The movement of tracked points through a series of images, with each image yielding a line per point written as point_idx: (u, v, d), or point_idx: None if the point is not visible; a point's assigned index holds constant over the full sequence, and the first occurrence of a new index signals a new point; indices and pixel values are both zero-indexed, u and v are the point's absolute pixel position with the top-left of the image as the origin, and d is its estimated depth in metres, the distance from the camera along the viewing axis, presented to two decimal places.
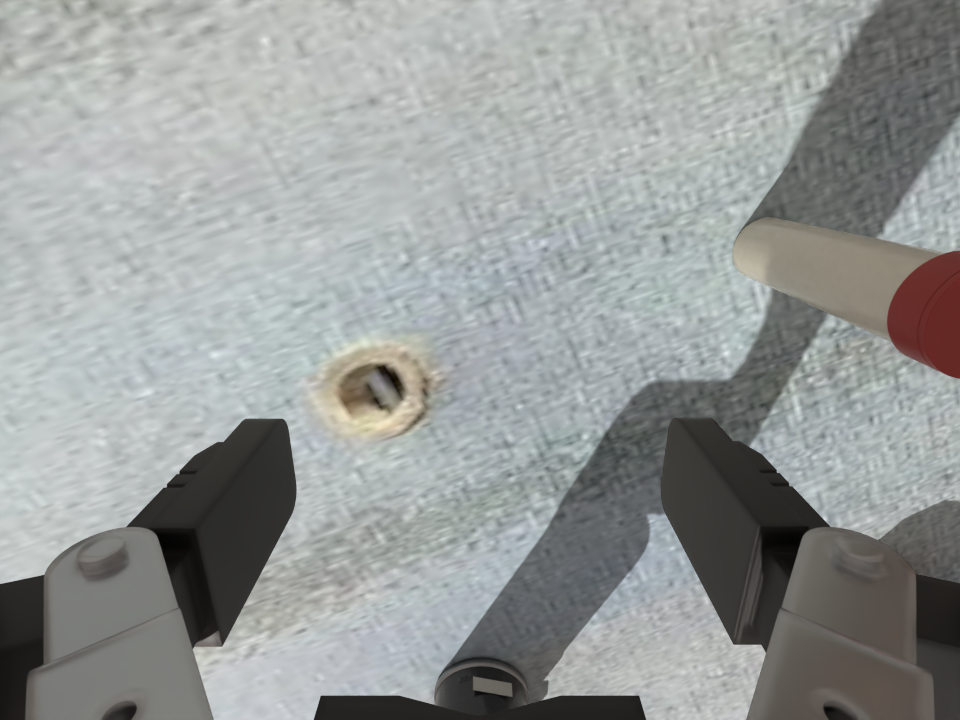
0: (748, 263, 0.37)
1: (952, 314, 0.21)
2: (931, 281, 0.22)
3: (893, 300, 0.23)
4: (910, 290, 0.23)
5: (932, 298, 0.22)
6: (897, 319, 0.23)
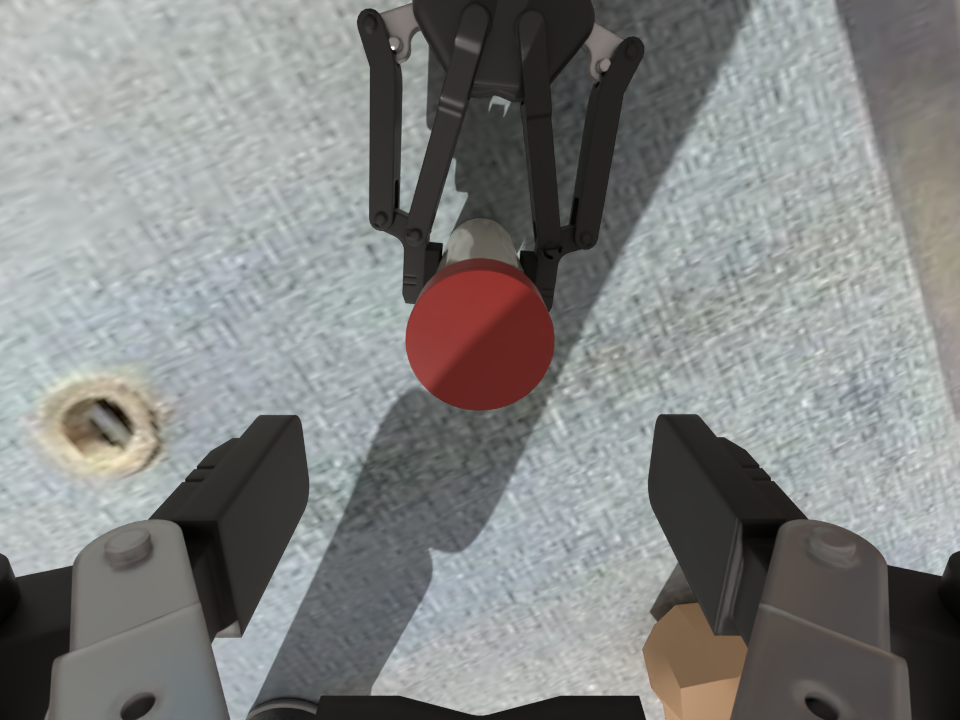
0: None
1: (432, 337, 0.18)
2: None
3: None
4: None
5: (409, 319, 0.18)
6: None
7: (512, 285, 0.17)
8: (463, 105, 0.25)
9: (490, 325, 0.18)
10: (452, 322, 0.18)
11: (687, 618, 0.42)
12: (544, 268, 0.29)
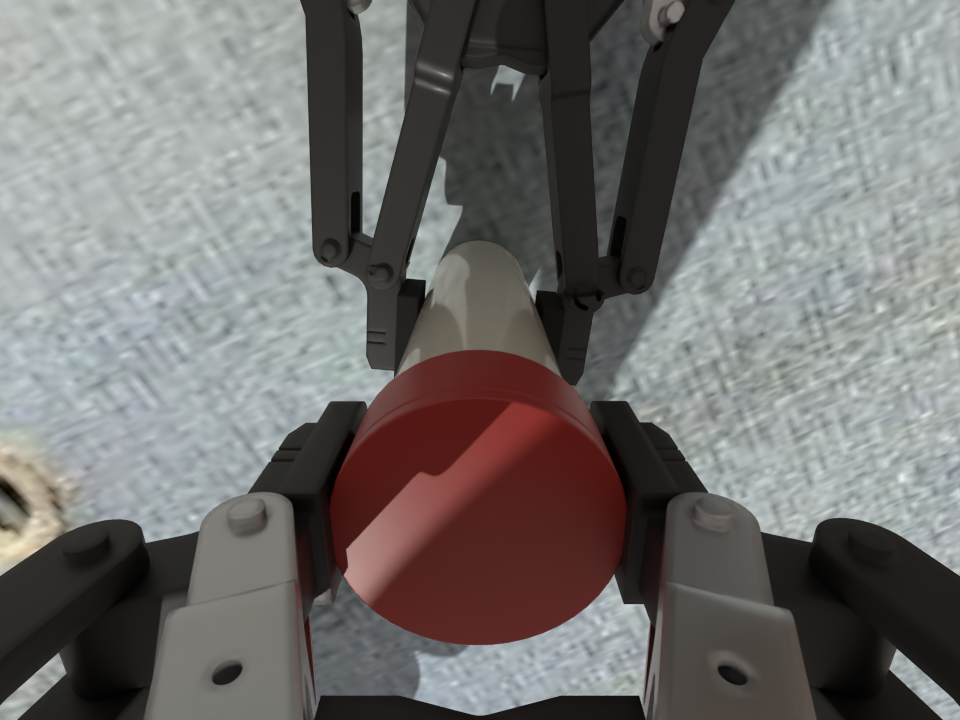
0: None
1: (382, 522, 0.09)
2: None
3: None
4: None
5: (335, 484, 0.09)
6: None
7: (546, 427, 0.08)
8: (452, 76, 0.16)
9: (499, 501, 0.09)
10: (421, 495, 0.09)
11: None
12: (573, 320, 0.20)
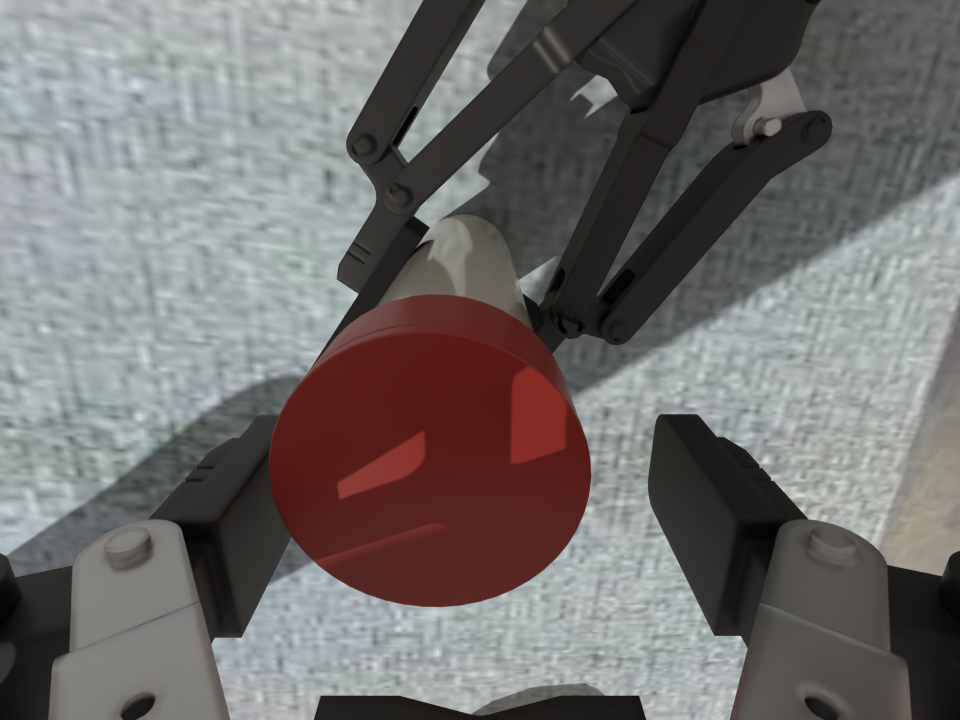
0: None
1: (368, 546, 0.09)
2: None
3: None
4: None
5: (320, 552, 0.09)
6: None
7: (348, 367, 0.08)
8: (570, 59, 0.16)
9: (405, 448, 0.08)
10: (360, 503, 0.09)
11: None
12: (543, 336, 0.20)
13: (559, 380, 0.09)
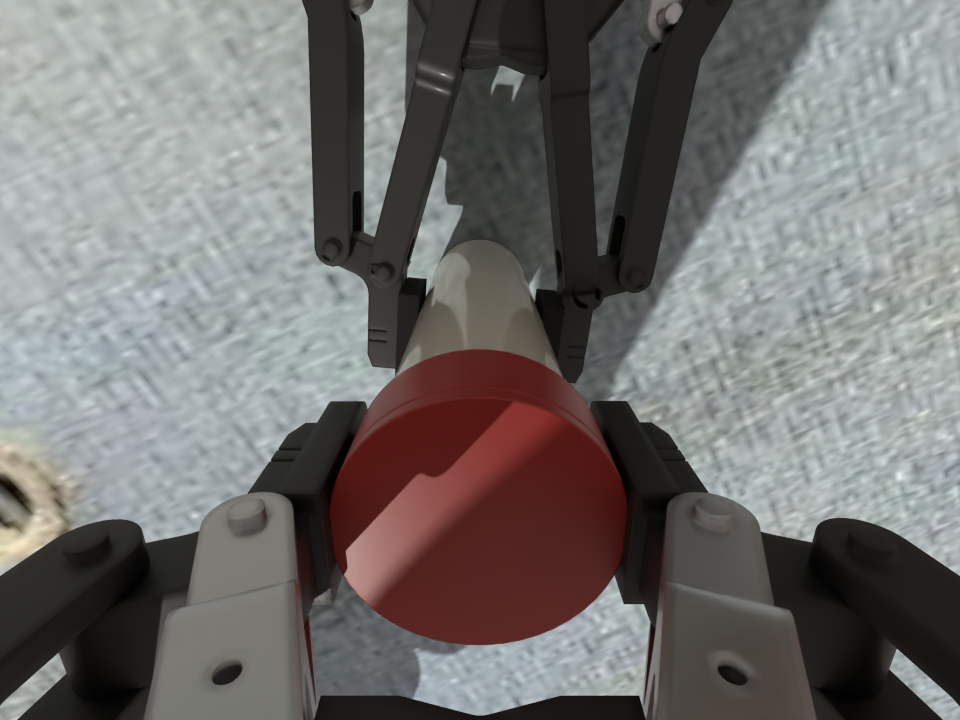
0: None
1: (462, 606, 0.10)
2: None
3: None
4: None
5: (430, 626, 0.10)
6: None
7: (355, 475, 0.09)
8: (453, 77, 0.16)
9: (440, 515, 0.09)
10: (432, 575, 0.09)
11: None
12: (572, 318, 0.20)
13: (540, 390, 0.09)
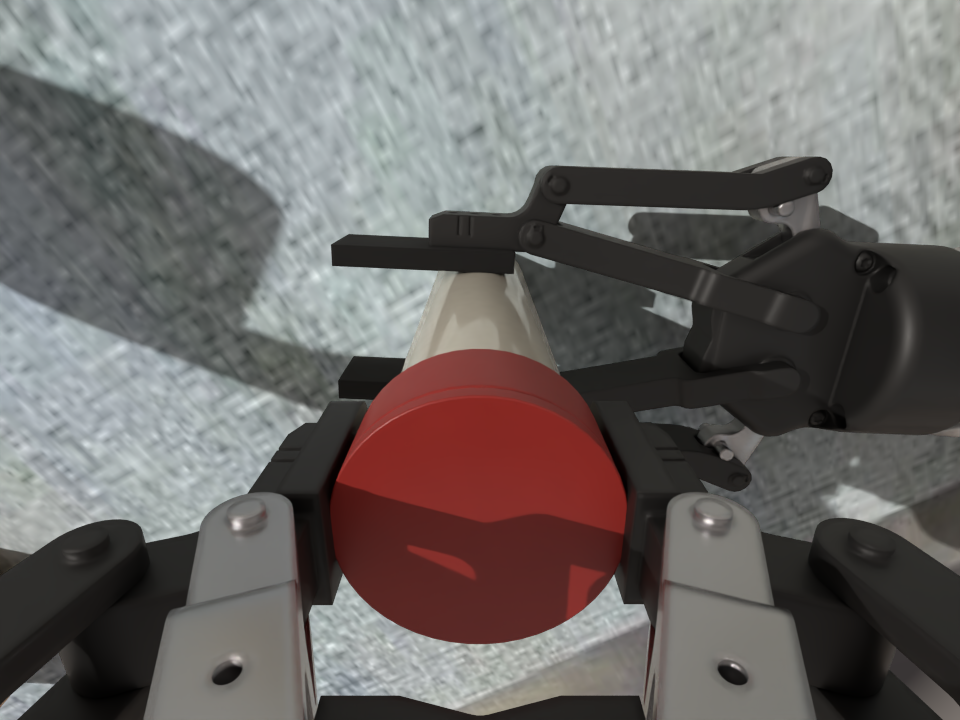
0: None
1: (462, 605, 0.10)
2: None
3: None
4: None
5: (430, 624, 0.10)
6: None
7: (356, 474, 0.09)
8: (705, 304, 0.19)
9: (440, 514, 0.09)
10: (432, 574, 0.09)
11: None
12: None
13: (540, 390, 0.09)
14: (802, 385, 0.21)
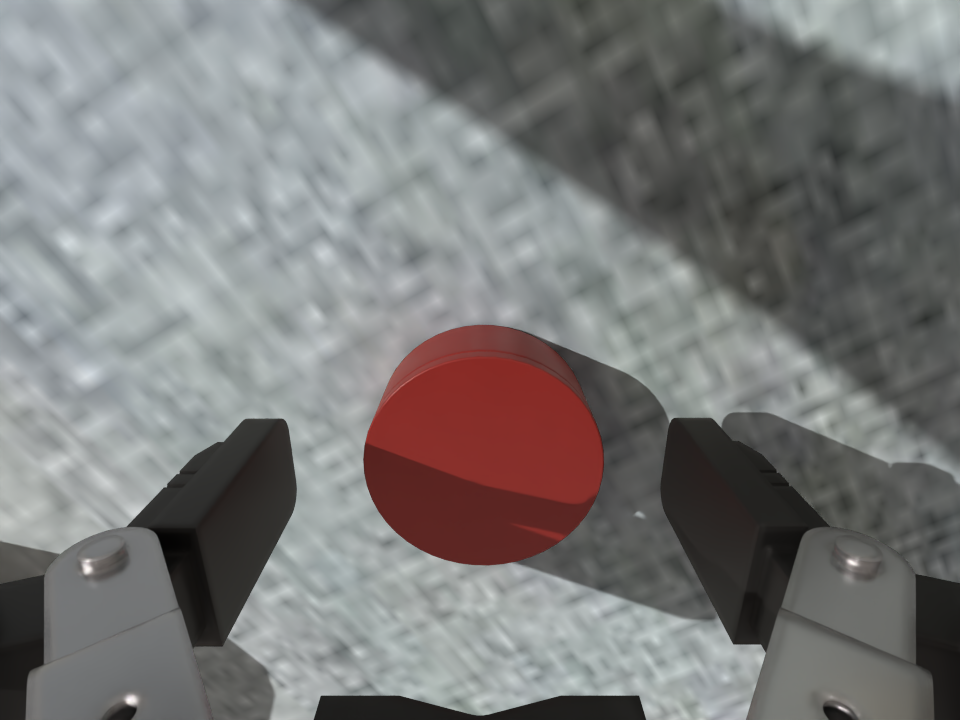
0: None
1: (469, 531, 0.12)
2: None
3: None
4: None
5: (443, 551, 0.12)
6: None
7: (386, 420, 0.11)
8: None
9: (453, 453, 0.11)
10: (446, 504, 0.12)
11: None
12: None
13: (533, 355, 0.11)
14: None
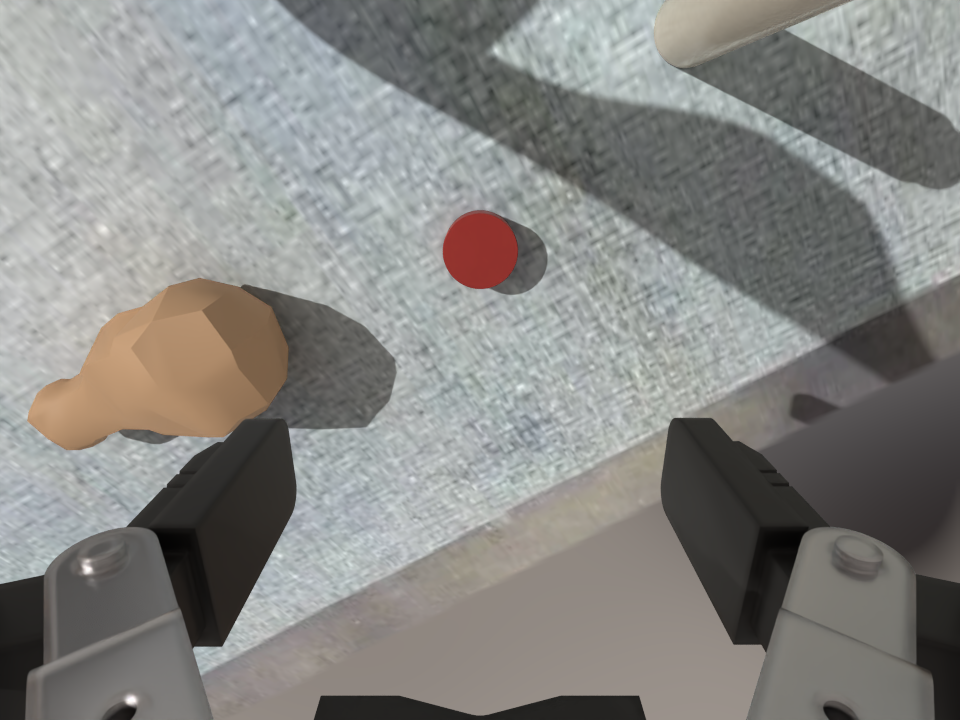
0: None
1: (475, 275, 0.36)
2: None
3: None
4: None
5: (467, 285, 0.37)
6: None
7: (450, 234, 0.35)
8: None
9: (470, 246, 0.36)
10: (468, 265, 0.36)
11: (269, 317, 0.36)
12: None
13: (495, 215, 0.36)
14: None
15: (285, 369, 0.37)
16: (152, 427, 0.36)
